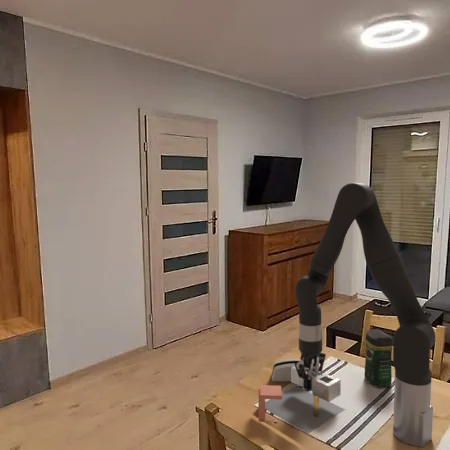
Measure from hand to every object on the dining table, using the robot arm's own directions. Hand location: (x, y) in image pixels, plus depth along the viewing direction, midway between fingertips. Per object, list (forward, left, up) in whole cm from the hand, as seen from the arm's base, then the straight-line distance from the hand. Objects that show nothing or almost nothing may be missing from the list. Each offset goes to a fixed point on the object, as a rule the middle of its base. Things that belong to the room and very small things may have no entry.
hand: (310, 387), depth 131 cm
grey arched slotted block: (+12, -7, -6) cm, 15 cm away
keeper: (+3, +15, -5) cm, 16 cm away
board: (-1, +6, -5) cm, 8 cm away
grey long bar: (-1, 0, 0) cm, 1 cm away
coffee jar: (-8, -29, -5) cm, 31 cm away
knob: (-7, +6, -5) cm, 10 cm away
